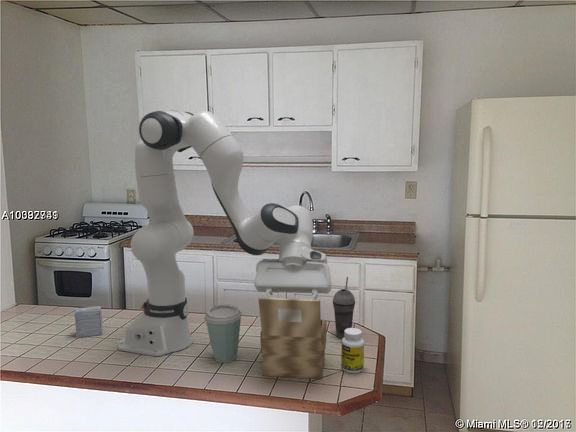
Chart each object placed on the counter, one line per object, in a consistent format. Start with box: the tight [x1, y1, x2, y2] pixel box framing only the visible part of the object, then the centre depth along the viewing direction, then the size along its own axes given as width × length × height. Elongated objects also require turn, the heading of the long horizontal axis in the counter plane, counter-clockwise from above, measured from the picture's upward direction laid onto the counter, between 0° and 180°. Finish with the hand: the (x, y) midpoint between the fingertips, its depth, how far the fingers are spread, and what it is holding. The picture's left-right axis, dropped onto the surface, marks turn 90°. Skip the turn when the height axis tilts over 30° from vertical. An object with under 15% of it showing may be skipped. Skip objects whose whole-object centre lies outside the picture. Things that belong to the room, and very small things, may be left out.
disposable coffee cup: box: [204, 303, 243, 364], centre depth 140 cm, size 11×11×15 cm
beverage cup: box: [332, 276, 356, 340], centre depth 155 cm, size 7×7×20 cm
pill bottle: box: [340, 327, 365, 374], centre depth 133 cm, size 6×6×11 cm
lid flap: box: [258, 297, 322, 338], centre depth 125 cm, size 16×12×1 cm
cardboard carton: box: [259, 318, 327, 380], centre depth 135 cm, size 17×12×12 cm
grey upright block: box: [74, 305, 104, 339], centre depth 159 cm, size 8×4×9 cm, turn 108°
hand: (290, 306), depth 124 cm, fingers open, 8 cm apart
